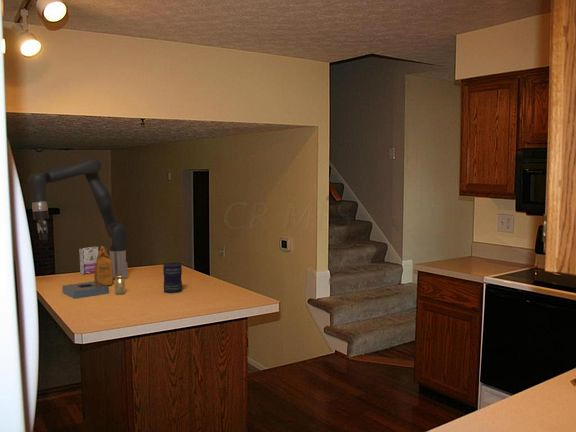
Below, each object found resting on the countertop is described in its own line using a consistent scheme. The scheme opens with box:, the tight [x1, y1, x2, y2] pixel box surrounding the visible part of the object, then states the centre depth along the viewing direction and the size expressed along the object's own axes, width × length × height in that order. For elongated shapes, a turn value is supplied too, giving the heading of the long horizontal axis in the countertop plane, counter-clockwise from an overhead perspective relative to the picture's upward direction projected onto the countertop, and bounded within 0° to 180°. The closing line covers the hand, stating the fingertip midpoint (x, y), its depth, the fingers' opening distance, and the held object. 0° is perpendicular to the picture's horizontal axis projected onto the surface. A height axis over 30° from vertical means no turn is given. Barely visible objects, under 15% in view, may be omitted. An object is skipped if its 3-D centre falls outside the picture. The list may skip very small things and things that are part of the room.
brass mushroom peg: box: [114, 274, 126, 296], centre depth 281 cm, size 6×6×10 cm
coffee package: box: [93, 245, 113, 286], centre depth 304 cm, size 10×12×22 cm
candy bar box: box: [78, 246, 100, 275], centre depth 341 cm, size 11×5×16 cm, turn 143°
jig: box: [61, 280, 110, 300], centre depth 283 cm, size 18×18×4 cm
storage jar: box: [162, 262, 183, 294], centre depth 287 cm, size 10×10×15 cm
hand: (43, 239), depth 289 cm, fingers open, 8 cm apart
